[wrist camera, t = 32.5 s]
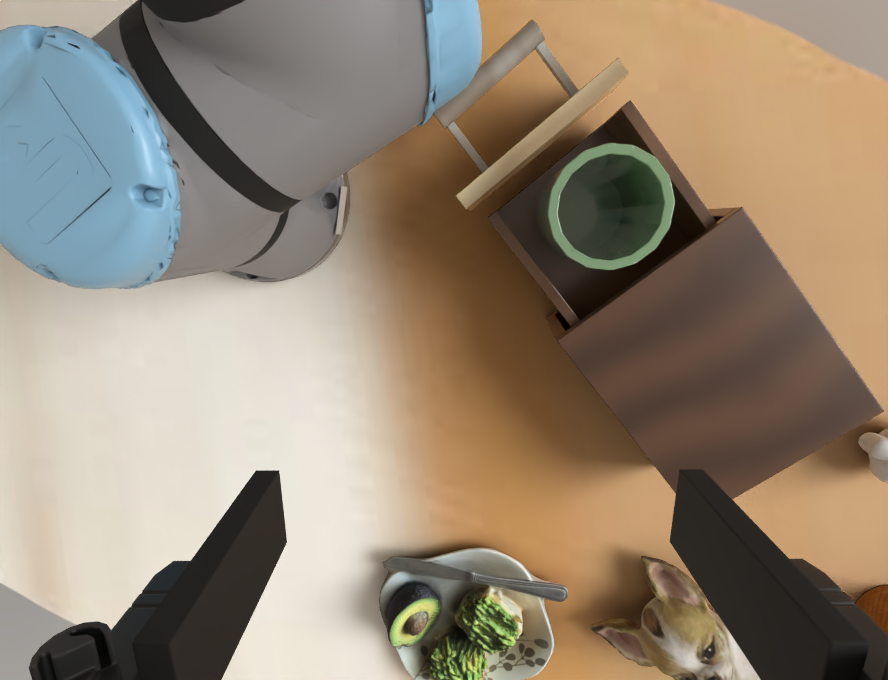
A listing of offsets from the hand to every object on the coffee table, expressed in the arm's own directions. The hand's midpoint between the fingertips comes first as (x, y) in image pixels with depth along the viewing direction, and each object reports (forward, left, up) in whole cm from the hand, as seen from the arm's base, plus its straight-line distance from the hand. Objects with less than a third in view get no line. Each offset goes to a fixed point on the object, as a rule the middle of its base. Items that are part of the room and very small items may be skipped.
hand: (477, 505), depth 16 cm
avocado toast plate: (+22, -21, -30) cm, 43 cm away
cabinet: (+11, +12, -30) cm, 34 cm away
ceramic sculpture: (+34, -3, -30) cm, 46 cm away
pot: (-3, +12, -27) cm, 30 cm away
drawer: (-5, +12, -29) cm, 31 cm away
